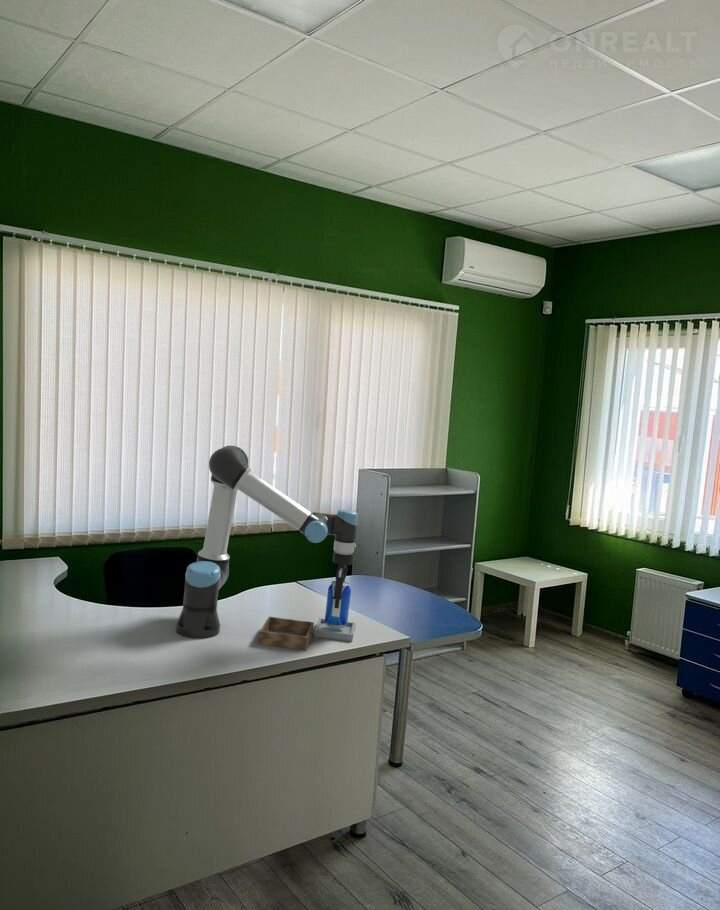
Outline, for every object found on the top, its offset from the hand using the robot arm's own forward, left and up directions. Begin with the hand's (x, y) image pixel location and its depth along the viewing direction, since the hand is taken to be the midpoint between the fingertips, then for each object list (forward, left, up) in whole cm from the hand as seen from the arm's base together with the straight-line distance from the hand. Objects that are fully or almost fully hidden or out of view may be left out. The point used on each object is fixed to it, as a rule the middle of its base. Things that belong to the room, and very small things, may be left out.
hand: (336, 612), depth 265 cm
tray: (0, 0, -8) cm, 8 cm away
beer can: (0, 0, -5) cm, 5 cm away
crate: (-16, -13, -8) cm, 22 cm away
